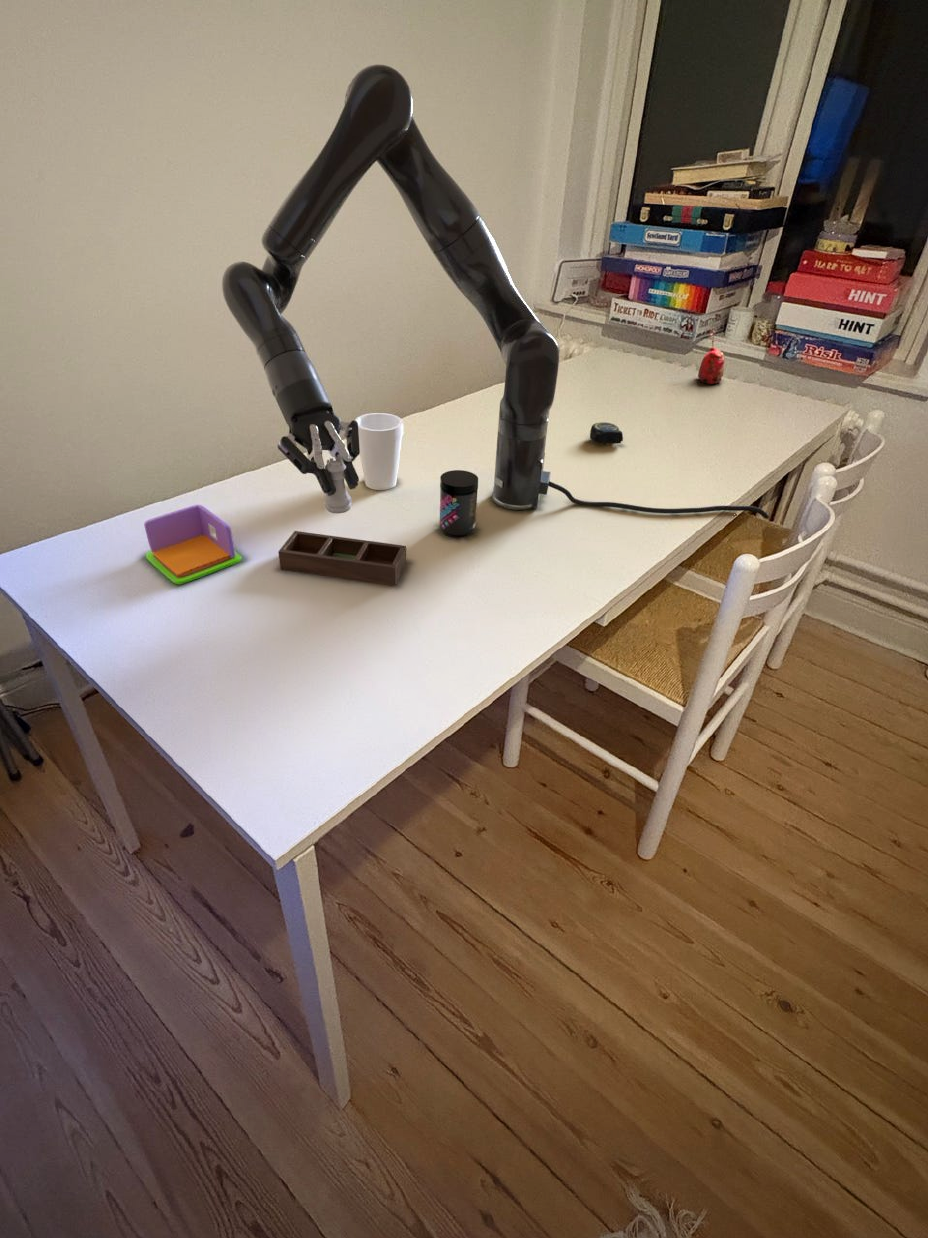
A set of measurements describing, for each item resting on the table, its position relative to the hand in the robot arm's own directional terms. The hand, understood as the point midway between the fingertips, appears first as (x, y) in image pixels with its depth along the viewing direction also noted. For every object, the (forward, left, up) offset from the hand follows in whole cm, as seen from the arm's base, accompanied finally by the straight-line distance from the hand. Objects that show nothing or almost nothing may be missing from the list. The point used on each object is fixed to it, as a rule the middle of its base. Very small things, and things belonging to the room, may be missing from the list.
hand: (343, 489), depth 107 cm
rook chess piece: (+2, -1, -4) cm, 5 cm away
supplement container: (-15, -17, -15) cm, 27 cm away
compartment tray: (+1, 0, -14) cm, 14 cm away
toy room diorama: (+26, +4, -15) cm, 30 cm away
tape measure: (-41, -67, -15) cm, 80 cm away
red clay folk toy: (-70, -124, -15) cm, 144 cm away
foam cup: (+4, -32, -15) cm, 36 cm away
